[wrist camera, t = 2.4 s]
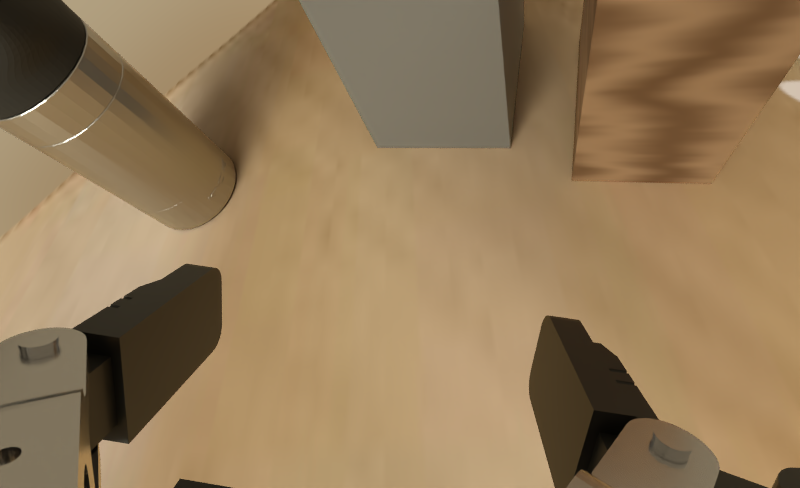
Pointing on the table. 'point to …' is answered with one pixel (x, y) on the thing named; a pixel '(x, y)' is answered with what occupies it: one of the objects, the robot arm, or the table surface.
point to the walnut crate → (675, 84)
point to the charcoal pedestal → (426, 67)
